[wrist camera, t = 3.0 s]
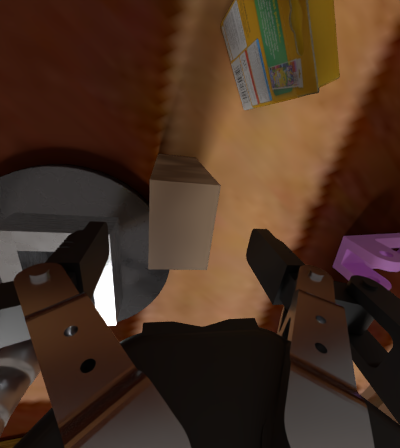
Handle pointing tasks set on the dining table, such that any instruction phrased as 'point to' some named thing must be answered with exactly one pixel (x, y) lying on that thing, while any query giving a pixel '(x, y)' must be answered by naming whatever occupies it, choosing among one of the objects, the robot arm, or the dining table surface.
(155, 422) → the robot arm
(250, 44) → the crayon box
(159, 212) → the tan rectangular block
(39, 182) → the grey round socket base
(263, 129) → the dining table surface
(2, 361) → the plastic bottle
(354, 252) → the bracket
